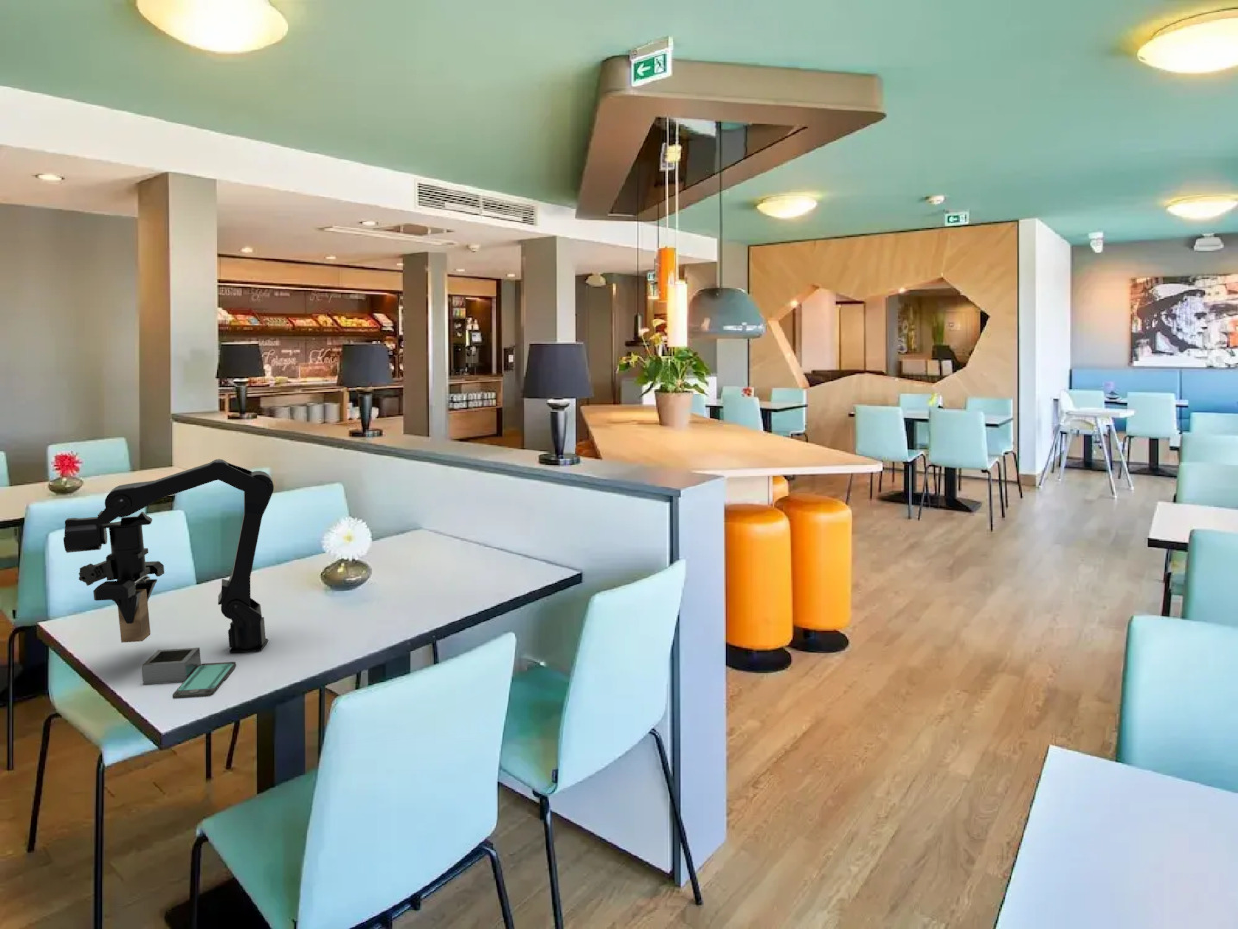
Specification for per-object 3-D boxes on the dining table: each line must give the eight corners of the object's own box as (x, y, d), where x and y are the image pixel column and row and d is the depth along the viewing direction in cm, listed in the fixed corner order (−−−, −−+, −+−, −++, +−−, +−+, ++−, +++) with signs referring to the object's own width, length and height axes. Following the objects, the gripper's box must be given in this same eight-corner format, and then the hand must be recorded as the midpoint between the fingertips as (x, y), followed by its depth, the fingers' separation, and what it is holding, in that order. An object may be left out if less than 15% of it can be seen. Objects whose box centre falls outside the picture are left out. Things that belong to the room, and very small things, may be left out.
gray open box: (201, 665, 162) (199, 647, 162) (186, 681, 154) (185, 662, 154) (159, 668, 161) (157, 650, 160) (143, 684, 153) (141, 665, 153)
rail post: (150, 634, 164) (146, 588, 163) (142, 641, 160) (138, 594, 159) (129, 635, 164) (125, 589, 162) (121, 642, 160) (116, 595, 158)
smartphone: (171, 694, 147) (200, 662, 161) (171, 701, 147) (200, 668, 162) (212, 692, 148) (237, 660, 163) (213, 698, 148) (238, 666, 163)
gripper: (106, 537, 167) (112, 607, 169) (59, 560, 149) (68, 638, 151) (162, 535, 169) (168, 604, 171) (123, 558, 151) (130, 635, 153)
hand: (134, 619), depth 162 cm, fingers closed on rail post, 4 cm apart
